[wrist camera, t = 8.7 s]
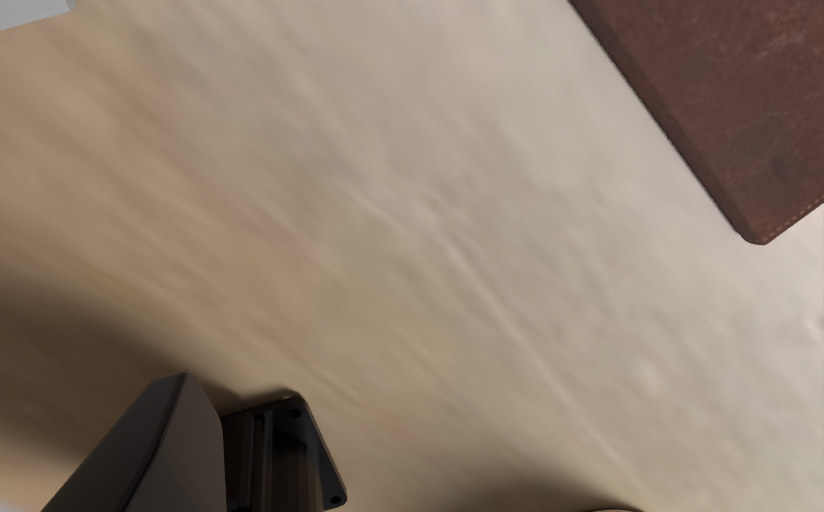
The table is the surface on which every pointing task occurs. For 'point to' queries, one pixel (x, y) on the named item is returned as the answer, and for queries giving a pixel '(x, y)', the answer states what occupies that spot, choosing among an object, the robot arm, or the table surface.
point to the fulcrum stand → (31, 10)
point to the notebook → (731, 96)
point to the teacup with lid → (613, 511)
